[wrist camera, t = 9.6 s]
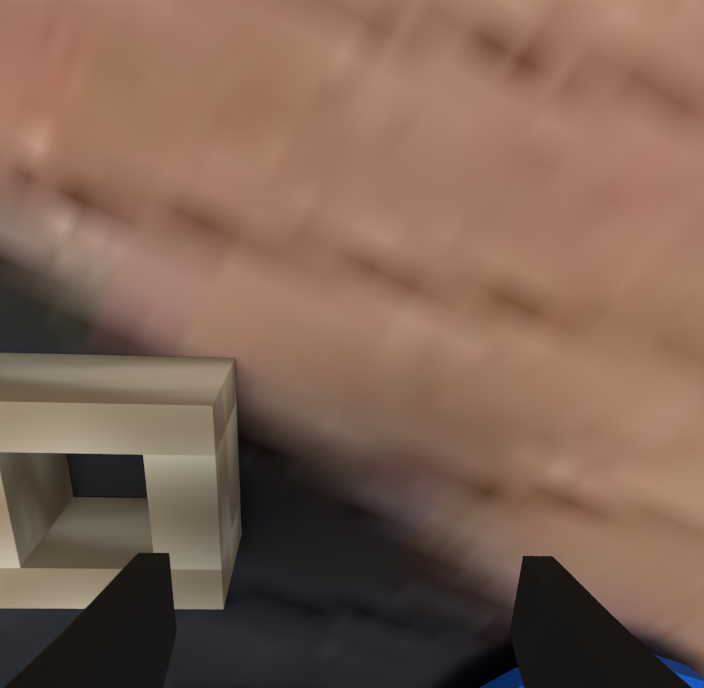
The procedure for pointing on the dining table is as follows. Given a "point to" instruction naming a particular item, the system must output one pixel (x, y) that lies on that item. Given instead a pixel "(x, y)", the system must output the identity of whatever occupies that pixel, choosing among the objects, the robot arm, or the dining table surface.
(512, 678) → the blue round knobbed lid
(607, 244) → the dining table surface
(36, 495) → the hole block
